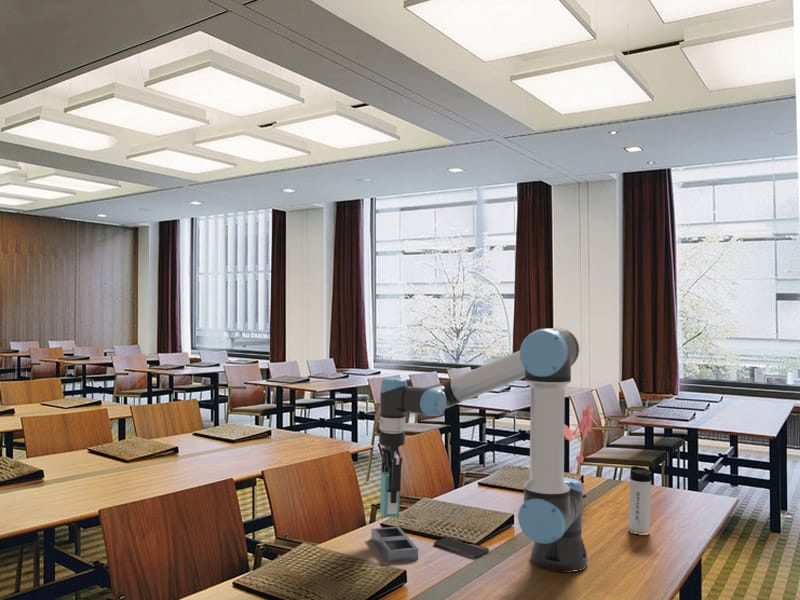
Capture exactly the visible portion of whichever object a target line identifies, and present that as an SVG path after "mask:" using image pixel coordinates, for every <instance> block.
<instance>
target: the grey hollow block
mask: <svg viewBox="0 0 800 600" xmlns="http://www.w3.org/2000/svg"><path fill="white" fill-rule="evenodd" d="M371 540H372V542H373V543H374V544H375V545H374V546H376V548H377V549H378V551H379V552H380V553H381V555H382V556H383V557H384V559H385V560H386V562H387V563H399V562H409V561H418V560H419V548H418V547H417V545H415V543H414V542H413V541H412V539H410V538H409V536H408V535H407V534H406V533H405V531H404V530H402V528H401V527H400V526H389V527H379V528H371Z"/></svg>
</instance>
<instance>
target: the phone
mask: <svg viewBox="0 0 800 600" xmlns="http://www.w3.org/2000/svg"><path fill="white" fill-rule="evenodd" d="M449 537H451V538H449ZM456 539H457V538H456V537H453V536H445V537H442V538H440V539H438V540H436V541H434V542H433V547H436V548H439V549H441V550H444V551H448V552H451V553H454V554H458V555H460V556H463V557H466V558H470V559H472V560H477V559H479V558H482V557H483V556H485V555H487V554H489V553H490V549H489V548H488V547H484V546H482V545H478V544H475V543H472V544H467V543H463V542H460V541H458V540H456Z"/></svg>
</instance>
